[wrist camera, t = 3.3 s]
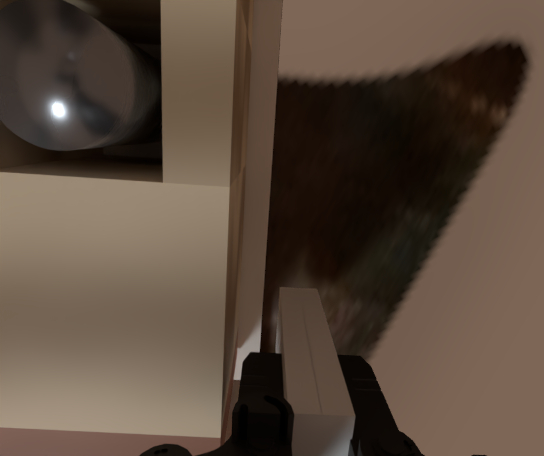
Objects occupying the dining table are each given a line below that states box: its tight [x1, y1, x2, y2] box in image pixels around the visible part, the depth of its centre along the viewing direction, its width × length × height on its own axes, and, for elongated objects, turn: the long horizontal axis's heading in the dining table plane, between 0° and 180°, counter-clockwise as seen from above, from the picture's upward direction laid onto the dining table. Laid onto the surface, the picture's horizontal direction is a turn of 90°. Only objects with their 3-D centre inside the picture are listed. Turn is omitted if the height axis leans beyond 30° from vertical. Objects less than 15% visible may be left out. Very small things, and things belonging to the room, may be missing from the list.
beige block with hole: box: [0, 0, 254, 456], centre depth 11 cm, size 16×7×6 cm, turn 176°
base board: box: [103, 0, 283, 380], centre depth 14 cm, size 22×15×1 cm
